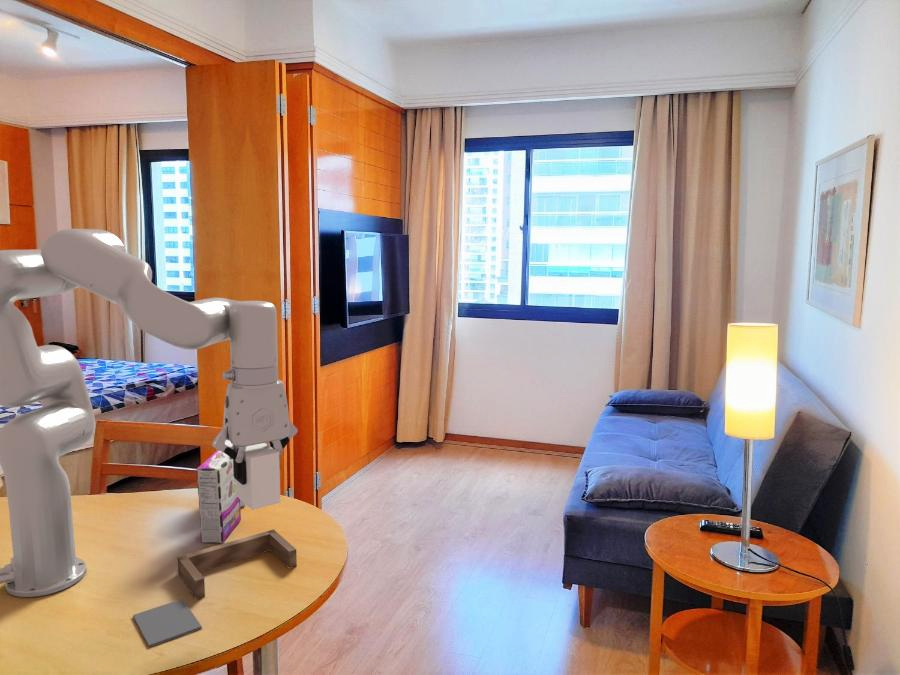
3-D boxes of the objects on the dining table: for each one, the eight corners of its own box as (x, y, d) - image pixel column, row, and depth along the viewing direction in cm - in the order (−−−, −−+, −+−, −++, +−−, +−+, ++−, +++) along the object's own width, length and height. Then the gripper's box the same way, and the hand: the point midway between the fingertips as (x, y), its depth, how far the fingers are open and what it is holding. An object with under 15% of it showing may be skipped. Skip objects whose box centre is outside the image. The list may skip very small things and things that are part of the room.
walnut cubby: (196, 599, 113) (195, 580, 112) (178, 574, 121) (177, 556, 120) (296, 566, 125) (296, 549, 124) (274, 545, 133) (273, 529, 132)
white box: (252, 510, 107) (250, 458, 105) (236, 496, 112) (234, 446, 111) (280, 502, 110) (279, 452, 108) (263, 489, 115) (262, 441, 114)
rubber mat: (149, 647, 100) (149, 645, 100) (133, 617, 107) (133, 614, 107) (201, 628, 105) (201, 626, 105) (182, 600, 112) (182, 598, 112)
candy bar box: (219, 519, 144) (216, 449, 141) (241, 520, 144) (239, 450, 141) (199, 543, 133) (195, 468, 130) (223, 544, 133) (220, 468, 130)
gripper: (211, 386, 99) (215, 497, 102) (311, 373, 110) (312, 474, 113) (195, 377, 105) (199, 482, 108) (292, 365, 116) (293, 462, 119)
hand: (257, 477), depth 110 cm, fingers closed on white box, 5 cm apart
